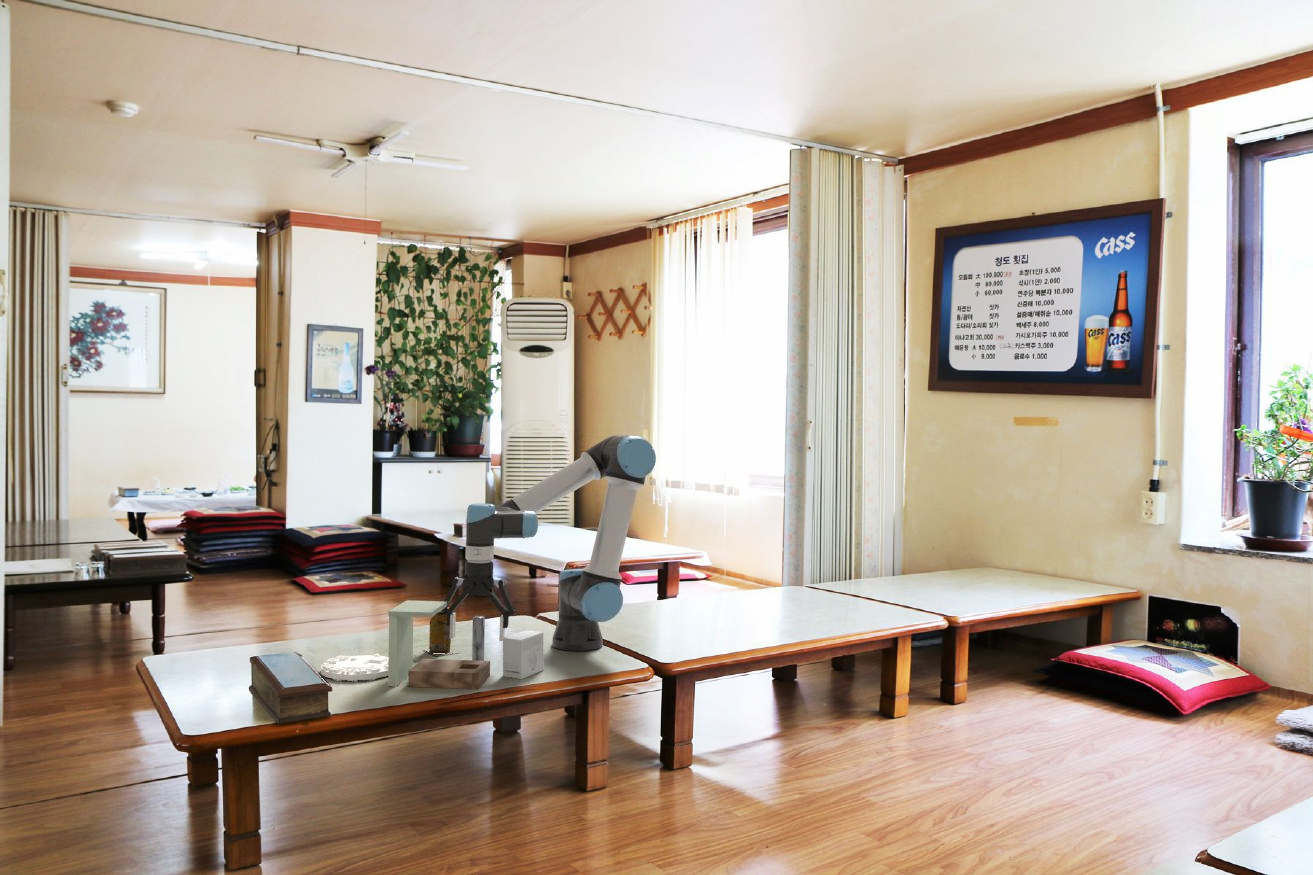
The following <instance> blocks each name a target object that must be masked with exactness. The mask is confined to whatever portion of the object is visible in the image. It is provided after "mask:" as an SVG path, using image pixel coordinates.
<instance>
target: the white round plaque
mask: <svg viewBox="0 0 1313 875" xmlns="http://www.w3.org/2000/svg"><path fill="white" fill-rule="evenodd" d="M388 664H389V656H385V655H381V654H380V653H375V654H373V655H371V654H370V655H368V654H366V655H362V654H361V655H348V656H347V655H337V656H335V657H334V658H333V657H329V658H328V659H326V661H324V663H322V664H321V665H320V675H322V676H324V677H325V678H329V679H332V680H333V681H336V682H341V681H342V680H343V681H347V682H349V681H352V682H354V683H357V682H358V680H359V681H365V680H369V681H375V680H376V679H379V678H383V677H387V676H388ZM340 680H341V681H340Z"/></svg>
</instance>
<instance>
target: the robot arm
mask: <svg viewBox="0 0 1313 875" xmlns="http://www.w3.org/2000/svg"><path fill="white" fill-rule="evenodd" d="M656 454H657V453H656V451H655V449H654V446H652V444H651V442H649V441H648V440H647V439H645V438H644V437H642V436H641V437H640V436H637V435H621V434H616V435H611V436H608V437H607V438H605V439H602V440H601V441H600V442H598V443H596V444H595V445H593V446H592V447H590V448H588V449H587V450H584V451H583V452H582V453H581V454H580V458H578V459H576V460H574V461H573V462H572V463H570V464H567V465H566V466H564V467H563V468H561V469H559V470H558V471H556V472H554V473H552V474H551V475H549V476H547V477H546V478H544V479H542V480H540V481H539V482H537V483H536V484H534V485H533V486H531V487H529V488H527V489H525V490H524V491H522V492H520V493H519V494H517V495H515V496H514V497H512V498H511V499H509V500H507V501H505V502H503V503H502V504H496V505H494V504H493V503H481V502H479V503H478V502H477V503H471V504H469V505H468V506H467V512H466V518H465V519H466V520H465V526H466V527H465V528H466V529H465V532H466V534H465V557H464V558H465V560H466V561H465V562H464V578H460V577H459V576H456V577H454V578H453V579H452V583H451V584H452V585H451V587H450V589H449V591H448V593H447V595H446V597H445V599H444V600H443V602H447V607H445V608H444V609H442V610H441V611H442V612H445V613H446V614H447V626H450V639H451V640H453V639H454V638H455V637H456V621H457V620H456V619H457V613H456V612H454V611H455V610H456V609H458V607H459V606H460V604H461V603H462V602H463V601H464V600H465V599H466V598H467V596H468V595H469V594H470V595H471V596H480V597H482V596H483V597H484V596H485V595H486V596H487V597H488V598H489V599H490V601H491V602H492V603H493V605H494V606H495V607H496V609H497V610H498V611H499V612H500V614H501V616H499V638H498V640H499V642H503V638H504V637H505V629H507V628H508V627H509V619H510V616H512V615H514V614H515V613H516V612H517V610H516V608H515V605H514V603H513V600H512V598H511V596H510V595H509V592H508V590H507V588H506V581H505V579H504V578H500V579H494V562H493V561H492V560H494V558H495V557H494V554H495V539H496V540H497V539H498V540H499V539H529V538H533V537H535V536H536V535H537V533H538V529H539V519H538V516H537V514H538V513H540V512H542V511H543V510H545V509H547V508H548V507H550V506H551V505H553V504H555V503H556V502H558V501H560V500H561V499H563V498H566V496H569V495H570V494H572V493H574V492H575V491H576V490H578V489H579V488H581V487H583V486H585V485H587V484H589V483H590V482H592V481H593V480H595V481H599V480H601V479H603V478H605V480H606V481H607V483H608V485H607V489H606V493H605V498H604V501H603V506H602V510H601V514H600V518H599V522H598V527H597V532H596V535H595V540H594V544H593V547H592V551H591V556H590V560H589V564H587V566H585V567H584V568H574V569H573V568H570V569H563V570H561V571H560V572H559V574H558V575H559V576H558V618H557V623H556V626H555V629H554V631H553V635H552V641H551V645H552V647H554V648H555V649H558V650H562V651H570V652H583V651H585V652H586V651H592V650H597V649H600V648H602V646H603V645H604V644H603V643H604V642H603V639H604V638H603V635H602V632H601V628H600V624H599V623H605V622H608V621H610V620H612V619H615V617H616V616H617V615H618V614H619V613H620V611H621V609H622V607H623V604H624V595H623V593H622V589H621V588H620V587H621V584H622V579H623V576H622V575H621V574H620V572H619V570H620V565H621V562H622V561H621V560H622V556H623V552H624V549H625V548H624V547H625V543H626V539H627V536H628V531H629V527H630V522H631V518H632V514H633V510H634V505H635V501H636V498H637V497H636V496H637V492H638V490H640V489H641V488H643V487H644V485H645V481H646V477H647V476H648V475H649V474H651V473H652V471H653V470H654V469H655V465H656V461H657V455H656ZM462 584H463V585H464V588H465V590H464V591H463V592H462V593H461V595H459V596H458V597H457V599H456V600H455V601H454V602H453V603H452V604H451V605H450V603H451V601H452V600H453V597H454V596H455V594H456V592H457V590H458V588H459V587H460V586H461V585H462ZM494 586H495V587H496V588H497V589H498V590H499V592H500V595H501V597H502V600H503V602H504V603H502V601H501V600H500V598H499V597H498V596H497V594H496V593H495V591H494V589H493V587H494ZM504 604H505V605H504ZM449 605H450V607H449Z"/></svg>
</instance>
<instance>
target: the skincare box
mask: <svg viewBox="0 0 1313 875" xmlns="http://www.w3.org/2000/svg"><path fill="white" fill-rule="evenodd" d="M544 661H545V660H544V631H536V630H526V629H525V630H522V631H519V632H516V633H514V634H513V633H512V634H510V635H508V636H504V638H503V641H502V677H506V678H511V677H512V679H519V680H523V679H525V678H527V677H528V678H529V677H530V676H533V675H535V674H538V673H540V672H543V671H544V669H545V668H544V667H545V666H544Z"/></svg>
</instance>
